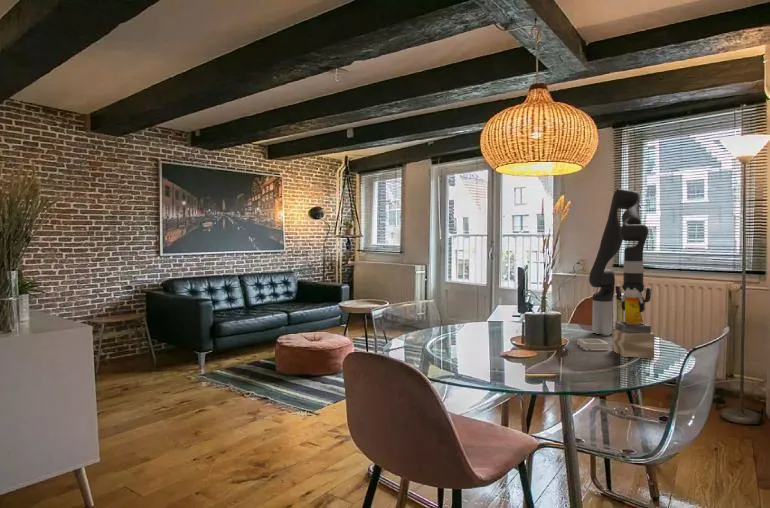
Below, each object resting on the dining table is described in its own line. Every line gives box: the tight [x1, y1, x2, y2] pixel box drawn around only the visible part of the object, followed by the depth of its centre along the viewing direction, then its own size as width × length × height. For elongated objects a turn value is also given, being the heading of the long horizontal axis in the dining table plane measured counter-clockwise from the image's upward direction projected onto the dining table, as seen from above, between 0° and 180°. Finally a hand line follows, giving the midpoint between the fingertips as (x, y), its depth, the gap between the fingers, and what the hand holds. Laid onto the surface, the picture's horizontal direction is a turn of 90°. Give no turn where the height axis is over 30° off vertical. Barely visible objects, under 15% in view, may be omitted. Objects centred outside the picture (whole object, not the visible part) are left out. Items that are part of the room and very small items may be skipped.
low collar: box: [576, 338, 610, 349], centre depth 218 cm, size 10×10×3 cm
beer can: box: [624, 289, 642, 325], centre depth 205 cm, size 6×6×15 cm
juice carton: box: [612, 292, 625, 328], centre depth 259 cm, size 8×9×19 cm
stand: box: [611, 322, 656, 359], centre depth 205 cm, size 12×12×13 cm
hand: (633, 311), depth 205 cm, fingers closed on beer can, 6 cm apart
